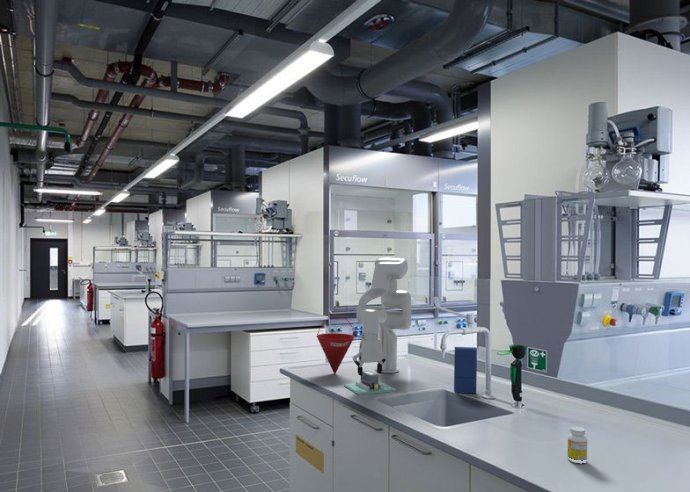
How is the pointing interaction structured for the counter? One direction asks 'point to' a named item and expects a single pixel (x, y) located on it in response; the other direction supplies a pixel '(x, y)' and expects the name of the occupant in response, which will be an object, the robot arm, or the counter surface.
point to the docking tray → (364, 389)
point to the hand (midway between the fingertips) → (369, 374)
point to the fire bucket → (335, 346)
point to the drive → (369, 379)
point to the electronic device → (465, 370)
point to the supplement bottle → (577, 444)
